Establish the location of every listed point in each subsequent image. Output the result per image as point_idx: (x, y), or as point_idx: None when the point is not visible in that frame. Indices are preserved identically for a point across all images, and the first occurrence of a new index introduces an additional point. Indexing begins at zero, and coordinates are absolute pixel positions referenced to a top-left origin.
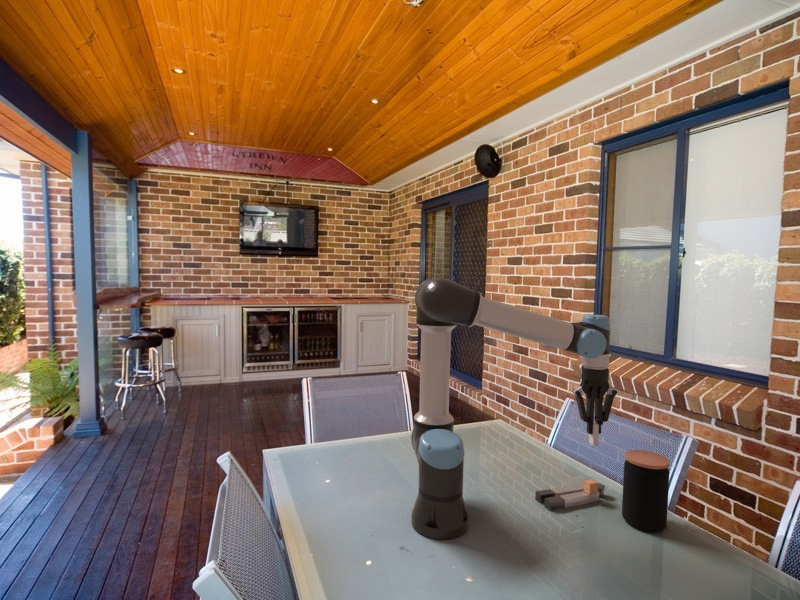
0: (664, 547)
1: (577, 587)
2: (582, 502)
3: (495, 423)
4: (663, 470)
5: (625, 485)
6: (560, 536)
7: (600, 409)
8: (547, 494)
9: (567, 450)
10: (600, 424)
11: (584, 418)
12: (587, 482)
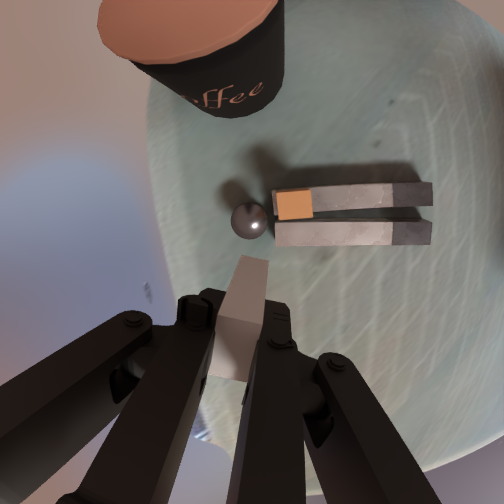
0: None
1: (464, 11)
2: (329, 185)
3: None
4: None
5: (281, 48)
6: (447, 96)
7: (149, 417)
8: (415, 222)
9: None
10: (210, 300)
11: (353, 378)
12: (310, 203)
